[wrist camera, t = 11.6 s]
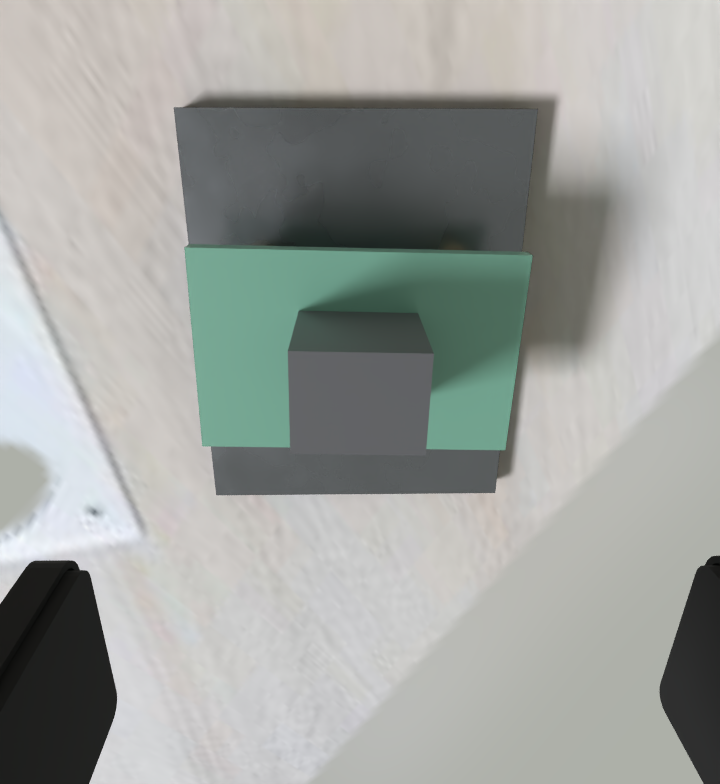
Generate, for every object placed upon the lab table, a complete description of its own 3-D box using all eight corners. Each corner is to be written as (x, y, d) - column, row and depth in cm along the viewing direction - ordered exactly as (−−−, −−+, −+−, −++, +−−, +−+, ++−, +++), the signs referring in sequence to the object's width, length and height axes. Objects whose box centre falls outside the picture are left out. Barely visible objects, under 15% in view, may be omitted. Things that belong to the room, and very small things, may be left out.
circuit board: (206, 438, 28) (173, 509, 23) (189, 243, 24) (145, 275, 19) (501, 442, 28) (536, 513, 23) (527, 251, 25) (576, 284, 20)
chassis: (180, 108, 27) (145, 103, 22) (529, 110, 27) (568, 105, 23) (220, 483, 35) (200, 538, 30) (490, 481, 35) (512, 535, 31)
